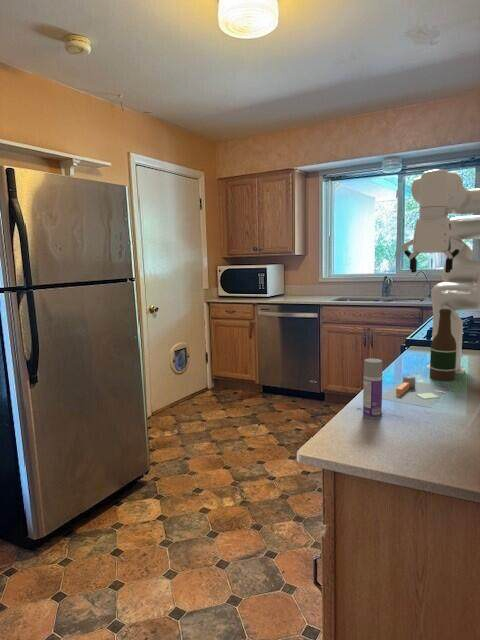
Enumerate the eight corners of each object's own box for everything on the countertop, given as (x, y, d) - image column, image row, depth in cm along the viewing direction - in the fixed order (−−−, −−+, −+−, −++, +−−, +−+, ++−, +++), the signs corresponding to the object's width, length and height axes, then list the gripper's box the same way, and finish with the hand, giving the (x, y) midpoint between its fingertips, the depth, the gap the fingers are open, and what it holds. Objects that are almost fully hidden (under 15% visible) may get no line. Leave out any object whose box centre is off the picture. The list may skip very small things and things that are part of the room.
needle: (404, 383, 135) (405, 375, 135) (416, 385, 133) (416, 376, 133) (392, 393, 126) (392, 384, 126) (404, 396, 124) (405, 386, 124)
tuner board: (402, 383, 141) (402, 379, 141) (450, 390, 132) (451, 386, 132) (378, 402, 124) (378, 397, 124) (432, 412, 115) (432, 407, 115)
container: (381, 413, 115) (382, 358, 113) (381, 419, 111) (382, 363, 109) (363, 411, 117) (364, 357, 115) (362, 417, 112) (363, 362, 110)
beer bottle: (458, 385, 137) (462, 310, 134) (432, 384, 139) (435, 310, 135) (451, 378, 145) (455, 307, 141) (426, 377, 147) (429, 307, 143)
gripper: (467, 212, 125) (464, 272, 128) (406, 217, 135) (404, 271, 138) (462, 210, 119) (459, 273, 122) (399, 215, 130) (397, 272, 132)
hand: (430, 272), depth 130 cm, fingers open, 9 cm apart
